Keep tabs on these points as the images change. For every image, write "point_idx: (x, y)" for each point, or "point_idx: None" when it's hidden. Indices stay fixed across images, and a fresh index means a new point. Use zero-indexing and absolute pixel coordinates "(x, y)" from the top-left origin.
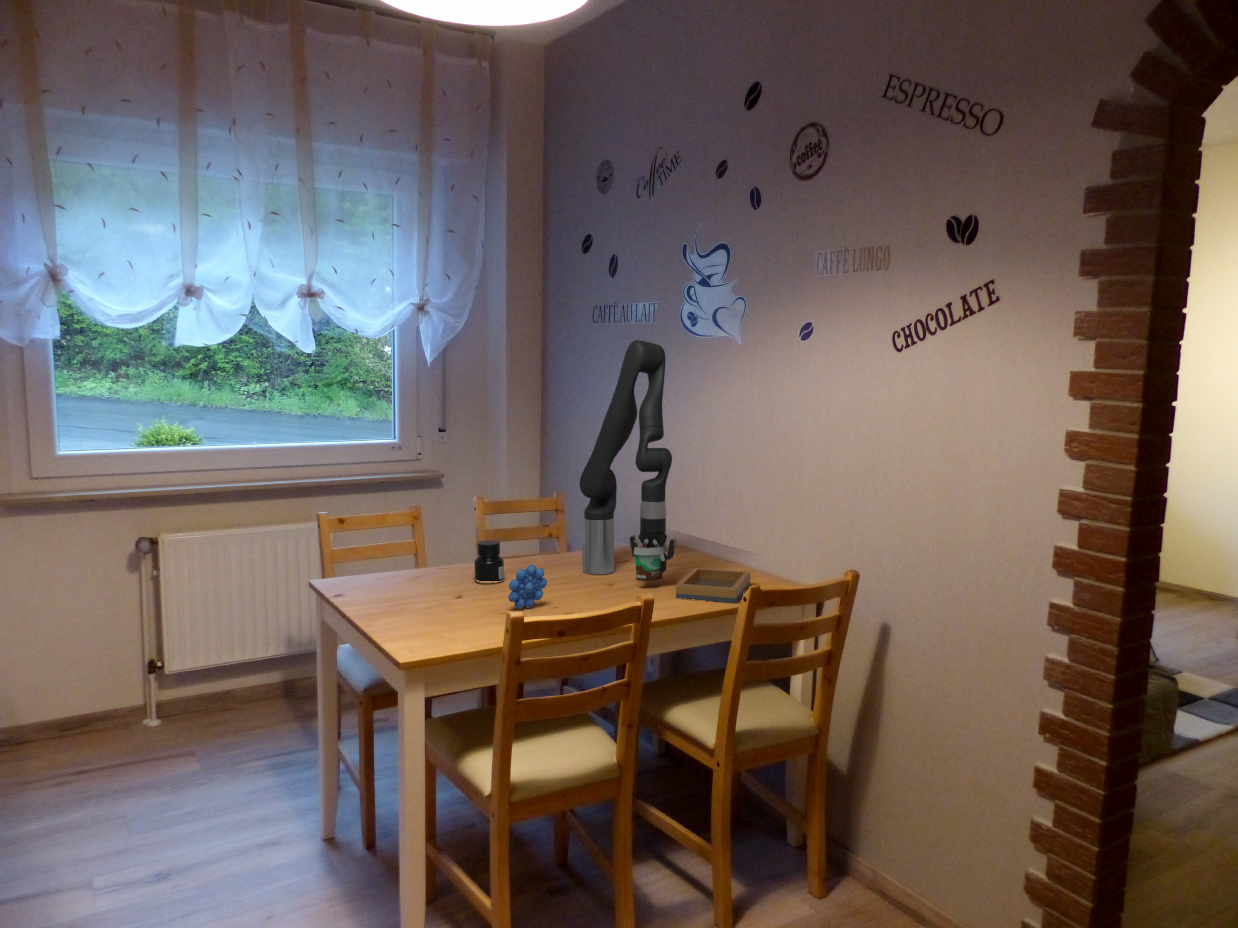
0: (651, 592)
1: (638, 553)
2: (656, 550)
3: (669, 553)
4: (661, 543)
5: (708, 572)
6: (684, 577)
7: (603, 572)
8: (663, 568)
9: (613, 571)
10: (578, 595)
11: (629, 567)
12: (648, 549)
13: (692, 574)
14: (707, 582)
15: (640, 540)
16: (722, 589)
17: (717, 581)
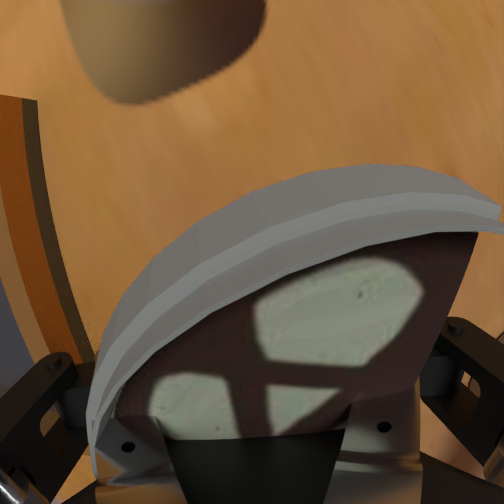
0: (194, 142)
1: (395, 170)
2: (102, 354)
3: (27, 389)
4: (71, 501)
5: (45, 427)
6: (20, 279)
7: (501, 342)
8: None
9: (470, 384)
10: (479, 4)
11: (423, 449)
12: (219, 278)
13: (31, 355)
14: (15, 354)
15: (480, 479)
16: None
17: (5, 376)
